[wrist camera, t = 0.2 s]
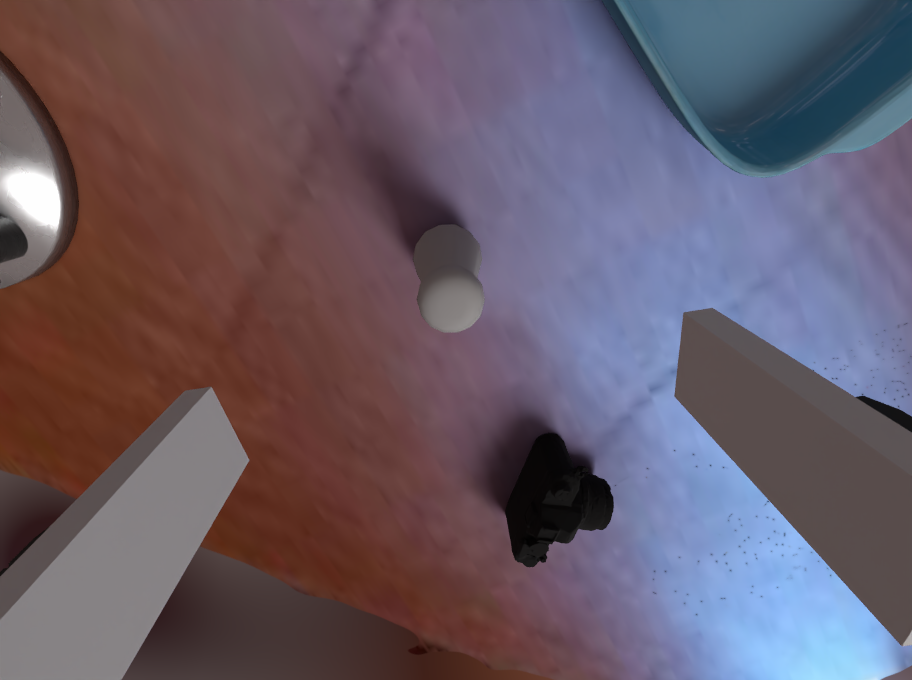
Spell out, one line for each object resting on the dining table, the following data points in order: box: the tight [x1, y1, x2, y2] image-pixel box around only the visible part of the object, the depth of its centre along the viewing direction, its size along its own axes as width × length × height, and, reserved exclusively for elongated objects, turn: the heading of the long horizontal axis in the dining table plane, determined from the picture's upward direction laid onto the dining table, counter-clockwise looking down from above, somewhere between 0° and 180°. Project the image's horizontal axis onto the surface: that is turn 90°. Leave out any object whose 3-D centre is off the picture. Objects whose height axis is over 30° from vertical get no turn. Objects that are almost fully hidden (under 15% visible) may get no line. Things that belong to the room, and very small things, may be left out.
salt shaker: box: [413, 224, 485, 332], centre depth 31 cm, size 6×6×13 cm
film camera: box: [505, 433, 614, 567], centre depth 46 cm, size 15×10×9 cm, turn 165°
